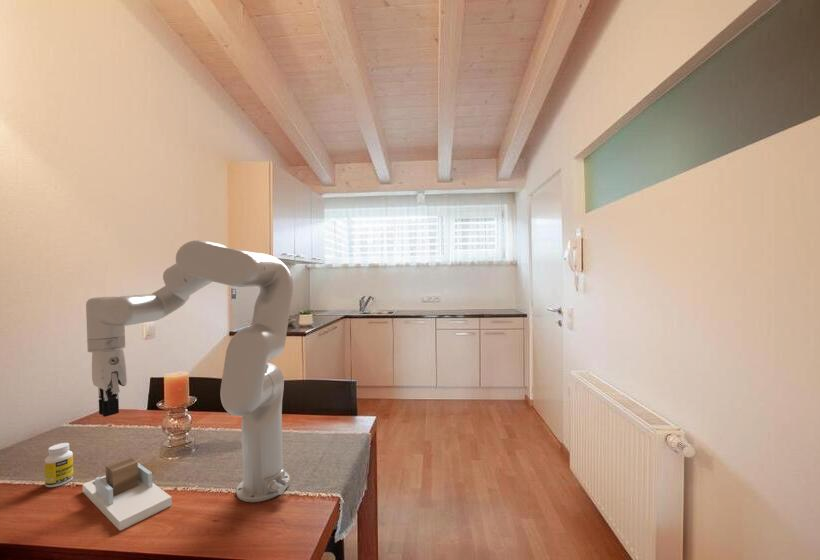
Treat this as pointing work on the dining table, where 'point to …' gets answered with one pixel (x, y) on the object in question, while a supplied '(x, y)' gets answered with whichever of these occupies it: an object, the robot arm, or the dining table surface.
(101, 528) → the dining table surface
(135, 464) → the walnut block
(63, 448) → the supplement bottle
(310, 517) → the dining table surface
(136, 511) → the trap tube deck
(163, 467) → the dining table surface
